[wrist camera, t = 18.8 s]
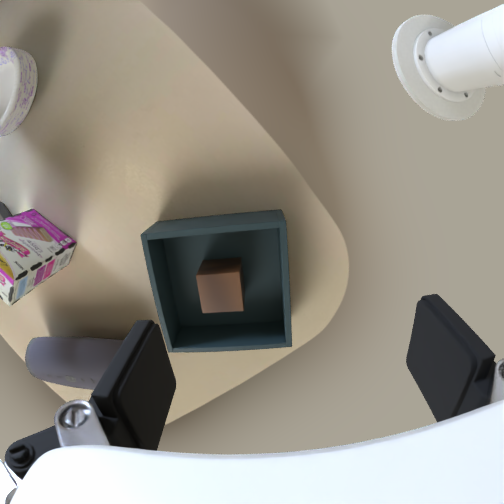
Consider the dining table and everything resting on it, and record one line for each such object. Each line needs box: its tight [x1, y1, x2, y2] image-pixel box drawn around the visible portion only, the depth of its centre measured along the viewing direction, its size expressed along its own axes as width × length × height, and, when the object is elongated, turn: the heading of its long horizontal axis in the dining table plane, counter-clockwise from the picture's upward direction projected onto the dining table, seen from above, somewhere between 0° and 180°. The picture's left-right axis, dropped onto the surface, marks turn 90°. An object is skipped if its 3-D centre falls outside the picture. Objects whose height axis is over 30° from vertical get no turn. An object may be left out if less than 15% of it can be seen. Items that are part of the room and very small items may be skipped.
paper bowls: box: [0, 46, 38, 137], centre depth 31 cm, size 15×15×8 cm
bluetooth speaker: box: [25, 336, 124, 390], centre depth 45 cm, size 23×9×10 cm, turn 96°
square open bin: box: [141, 210, 292, 352], centre depth 41 cm, size 18×18×7 cm
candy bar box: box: [0, 209, 77, 306], centre depth 35 cm, size 11×5×16 cm, turn 56°
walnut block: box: [196, 257, 245, 313], centre depth 41 cm, size 6×6×6 cm
